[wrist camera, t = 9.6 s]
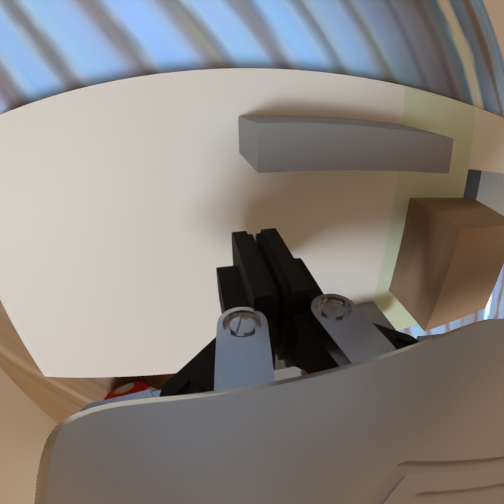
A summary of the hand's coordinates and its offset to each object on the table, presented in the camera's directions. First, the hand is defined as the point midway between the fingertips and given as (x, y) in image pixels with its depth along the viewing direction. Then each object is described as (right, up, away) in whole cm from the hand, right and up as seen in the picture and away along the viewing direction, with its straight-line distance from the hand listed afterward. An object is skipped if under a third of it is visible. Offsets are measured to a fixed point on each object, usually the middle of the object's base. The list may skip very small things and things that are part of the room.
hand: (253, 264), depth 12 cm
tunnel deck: (+3, +3, +6) cm, 7 cm away
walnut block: (+11, +1, +5) cm, 12 cm away
